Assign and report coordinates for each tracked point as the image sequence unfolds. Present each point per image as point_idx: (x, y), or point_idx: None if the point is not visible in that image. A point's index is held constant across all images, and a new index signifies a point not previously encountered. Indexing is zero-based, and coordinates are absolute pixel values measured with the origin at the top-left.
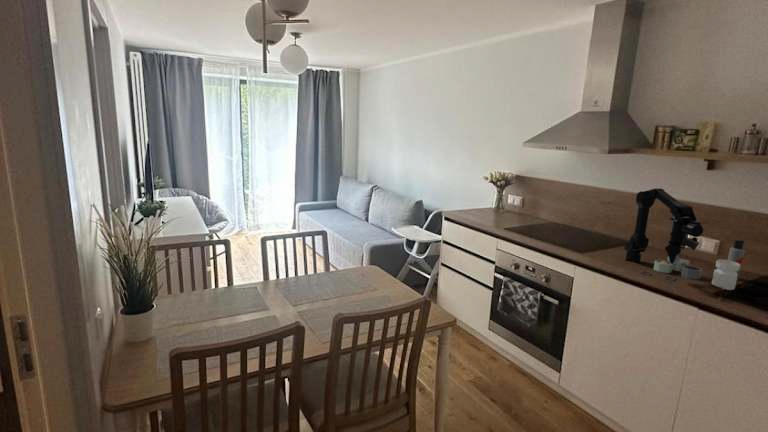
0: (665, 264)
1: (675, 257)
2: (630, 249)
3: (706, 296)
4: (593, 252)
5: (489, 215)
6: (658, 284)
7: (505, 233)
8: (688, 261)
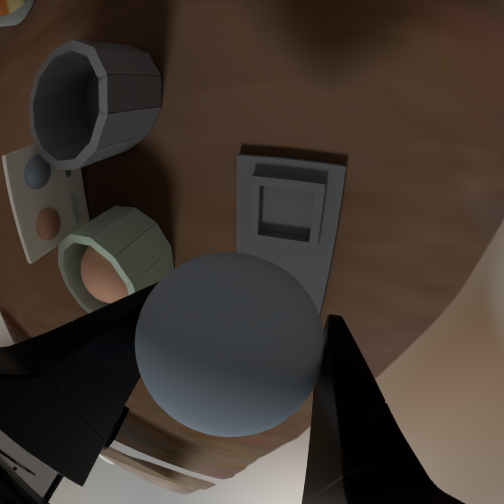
0: (130, 280)
1: (392, 415)
2: (123, 418)
3: (482, 3)
4: (152, 421)
5: (127, 466)
6: (440, 271)
7: (195, 485)
8: (9, 159)
